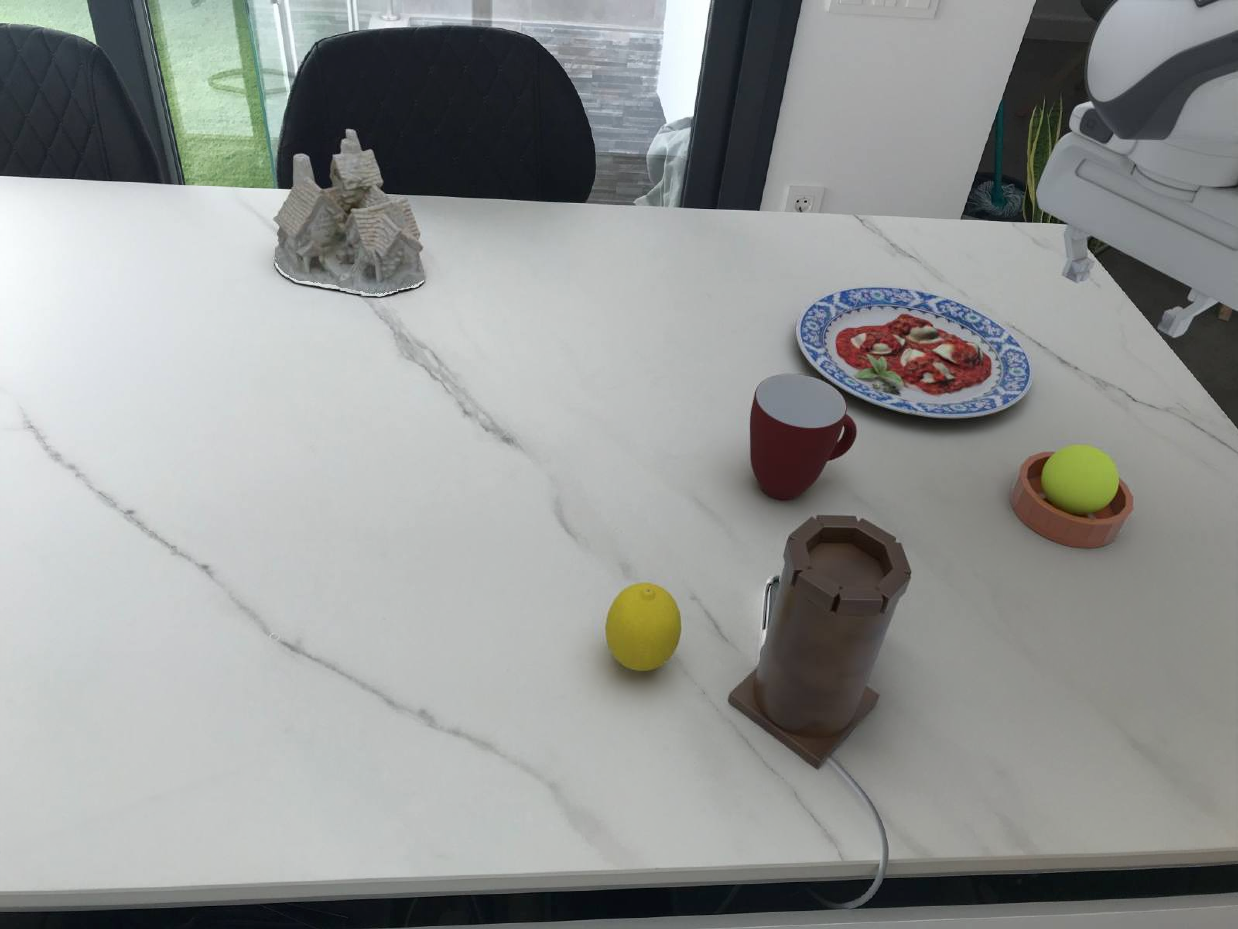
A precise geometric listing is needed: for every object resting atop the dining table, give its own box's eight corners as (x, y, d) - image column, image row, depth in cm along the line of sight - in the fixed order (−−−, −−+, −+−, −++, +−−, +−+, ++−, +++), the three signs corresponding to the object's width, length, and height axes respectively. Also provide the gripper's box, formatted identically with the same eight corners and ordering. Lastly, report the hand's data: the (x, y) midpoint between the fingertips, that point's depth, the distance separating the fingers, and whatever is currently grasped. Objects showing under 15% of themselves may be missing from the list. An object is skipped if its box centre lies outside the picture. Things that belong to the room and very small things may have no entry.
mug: (812, 444, 96) (834, 360, 90) (862, 495, 91) (889, 410, 84) (721, 470, 92) (737, 384, 86) (767, 525, 87) (788, 437, 80)
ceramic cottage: (265, 246, 118) (251, 127, 108) (398, 231, 125) (396, 117, 115) (296, 318, 108) (284, 194, 98) (439, 297, 115) (441, 179, 105)
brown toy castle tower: (877, 703, 73) (934, 557, 63) (817, 769, 68) (869, 623, 58) (789, 642, 77) (830, 496, 67) (727, 701, 72) (761, 553, 62)
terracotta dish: (1136, 511, 92) (1150, 488, 90) (1095, 565, 86) (1108, 541, 84) (1036, 461, 97) (1047, 437, 95) (990, 508, 91) (1001, 484, 89)
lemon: (678, 691, 72) (691, 620, 67) (604, 692, 72) (611, 620, 67) (670, 633, 77) (682, 562, 71) (600, 634, 76) (606, 562, 71)
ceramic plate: (904, 282, 123) (910, 261, 121) (1075, 390, 107) (1086, 367, 105) (746, 333, 111) (750, 311, 109) (911, 462, 95) (920, 438, 93)
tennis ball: (1113, 506, 91) (1141, 454, 87) (1086, 539, 88) (1114, 486, 83) (1048, 473, 94) (1072, 421, 90) (1019, 504, 91) (1043, 451, 87)
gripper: (1357, 189, 67) (1259, 358, 76) (1107, 90, 80) (1048, 244, 89) (1307, 205, 64) (1211, 379, 73) (1057, 99, 77) (1000, 258, 86)
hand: (1120, 304), depth 81 cm, fingers open, 8 cm apart
